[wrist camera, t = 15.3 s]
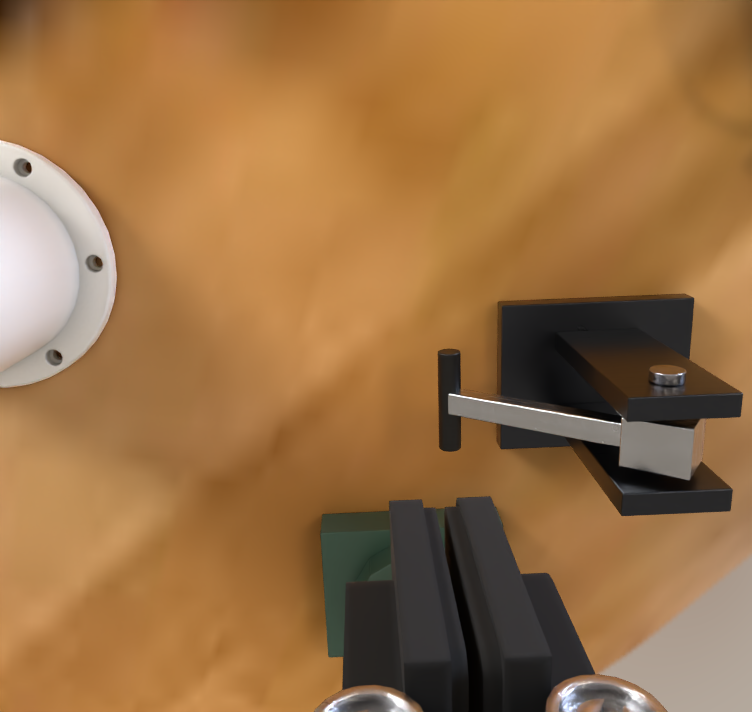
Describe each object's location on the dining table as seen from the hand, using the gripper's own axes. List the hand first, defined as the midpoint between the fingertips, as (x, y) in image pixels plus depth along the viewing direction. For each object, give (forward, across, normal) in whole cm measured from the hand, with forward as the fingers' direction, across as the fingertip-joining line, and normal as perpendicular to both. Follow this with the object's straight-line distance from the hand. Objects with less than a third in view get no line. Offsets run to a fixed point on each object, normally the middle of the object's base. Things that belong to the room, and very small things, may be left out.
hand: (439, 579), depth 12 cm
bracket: (+27, -11, +5) cm, 30 cm away
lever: (+21, -8, +5) cm, 23 cm away
